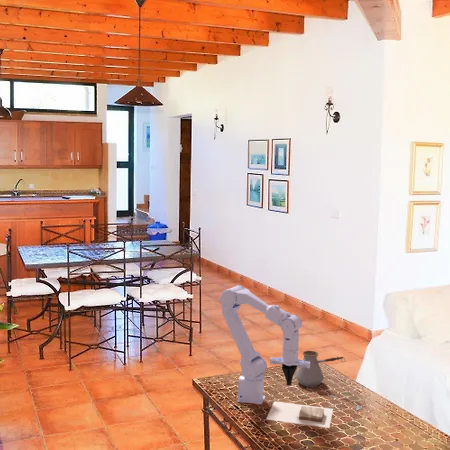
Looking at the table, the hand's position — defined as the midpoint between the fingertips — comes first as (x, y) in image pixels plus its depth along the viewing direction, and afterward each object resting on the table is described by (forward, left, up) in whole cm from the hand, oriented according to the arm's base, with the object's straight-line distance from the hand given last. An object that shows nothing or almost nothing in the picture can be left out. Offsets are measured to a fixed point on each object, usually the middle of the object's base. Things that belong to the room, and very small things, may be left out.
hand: (289, 384), depth 217 cm
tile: (+5, -5, -8) cm, 11 cm away
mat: (+5, -4, -9) cm, 11 cm away
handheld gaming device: (+18, +10, -10) cm, 23 cm away
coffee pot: (+9, +25, -10) cm, 28 cm away
